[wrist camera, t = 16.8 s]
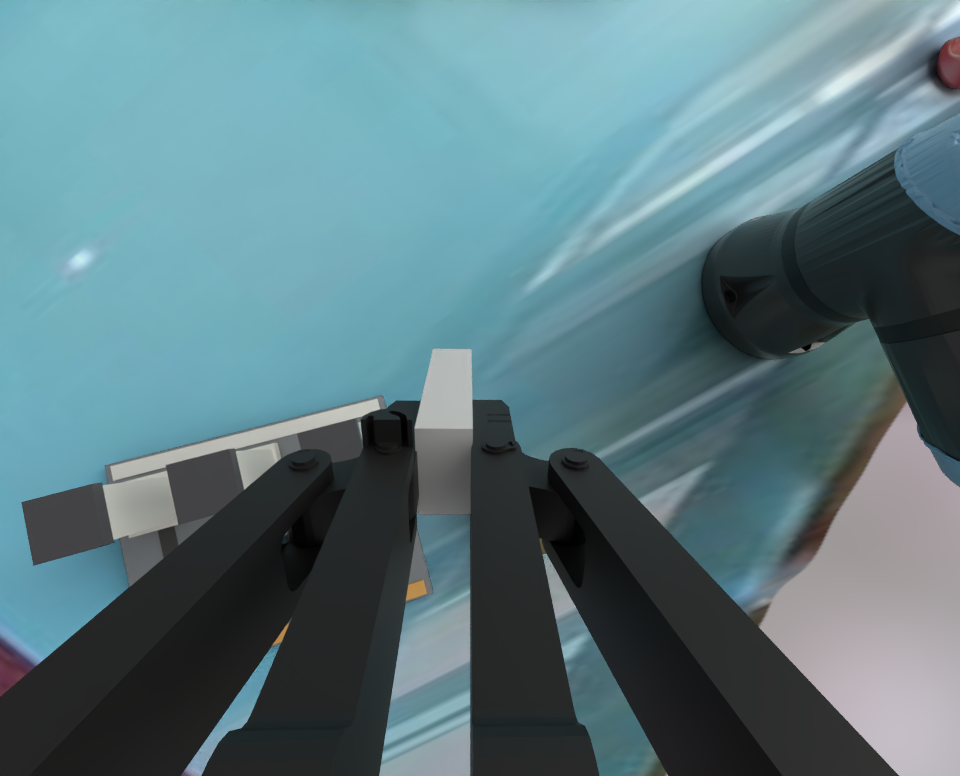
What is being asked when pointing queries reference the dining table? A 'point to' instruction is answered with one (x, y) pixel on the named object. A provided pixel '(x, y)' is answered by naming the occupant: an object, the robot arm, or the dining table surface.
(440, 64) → the dining table surface
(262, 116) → the dining table surface
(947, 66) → the liquor
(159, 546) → the panel
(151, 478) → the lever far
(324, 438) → the lever
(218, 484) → the lever mid
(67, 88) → the dining table surface
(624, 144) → the dining table surface
